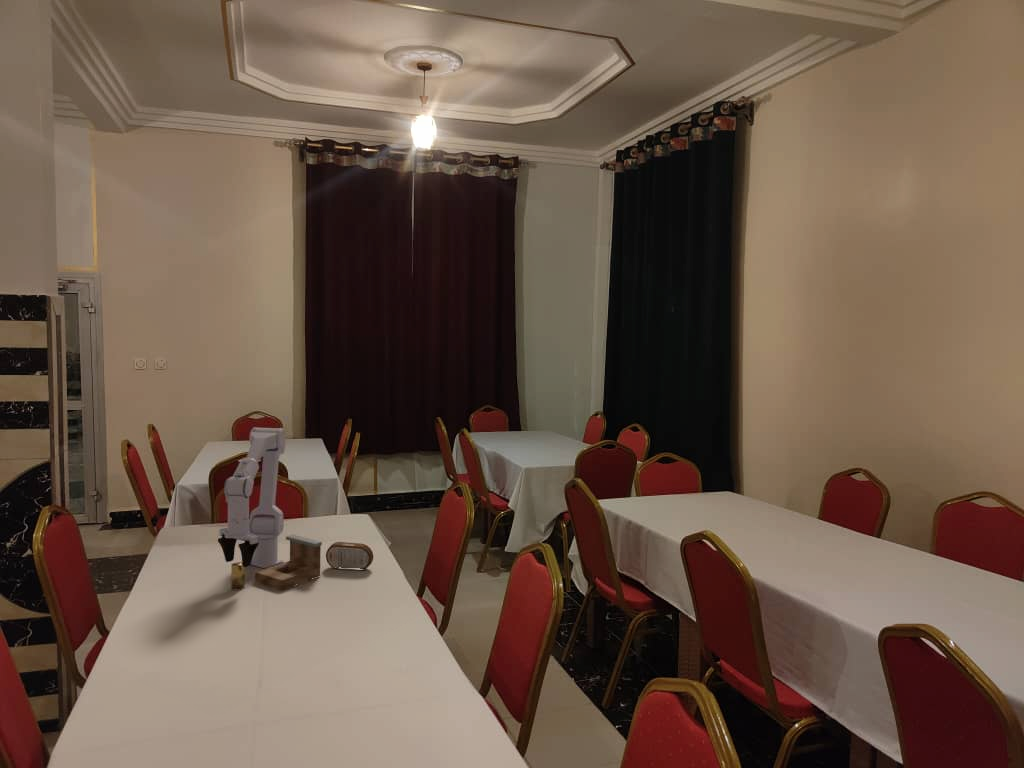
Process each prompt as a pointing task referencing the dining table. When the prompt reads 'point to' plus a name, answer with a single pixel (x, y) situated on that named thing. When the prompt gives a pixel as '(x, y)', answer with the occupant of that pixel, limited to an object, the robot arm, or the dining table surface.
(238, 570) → the peg
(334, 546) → the tin
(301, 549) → the socket block
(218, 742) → the dining table surface
